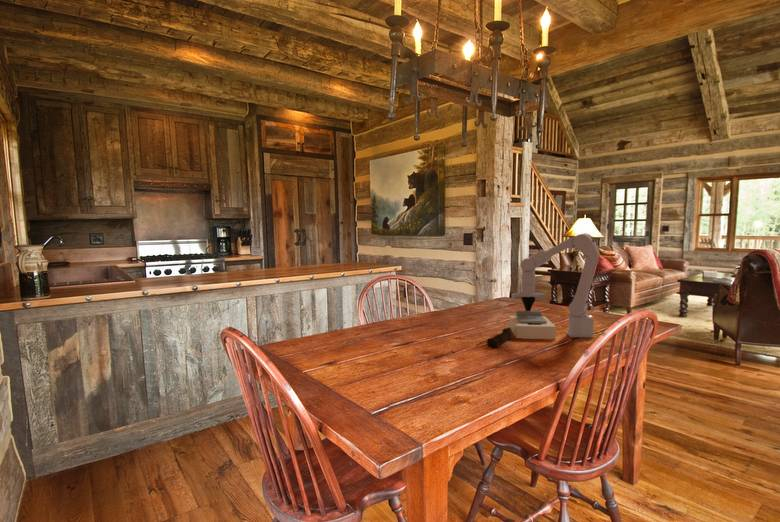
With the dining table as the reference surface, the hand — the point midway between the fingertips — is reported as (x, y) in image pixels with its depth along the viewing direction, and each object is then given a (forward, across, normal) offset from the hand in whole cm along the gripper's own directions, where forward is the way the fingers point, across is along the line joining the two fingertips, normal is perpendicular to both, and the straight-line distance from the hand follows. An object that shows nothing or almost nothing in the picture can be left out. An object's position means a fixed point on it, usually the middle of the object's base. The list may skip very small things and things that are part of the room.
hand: (527, 313), depth 185 cm
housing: (+7, 0, -8) cm, 11 cm away
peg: (+7, 0, -12) cm, 14 cm away
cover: (+1, 0, -7) cm, 7 cm away
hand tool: (+8, -16, -22) cm, 28 cm away
